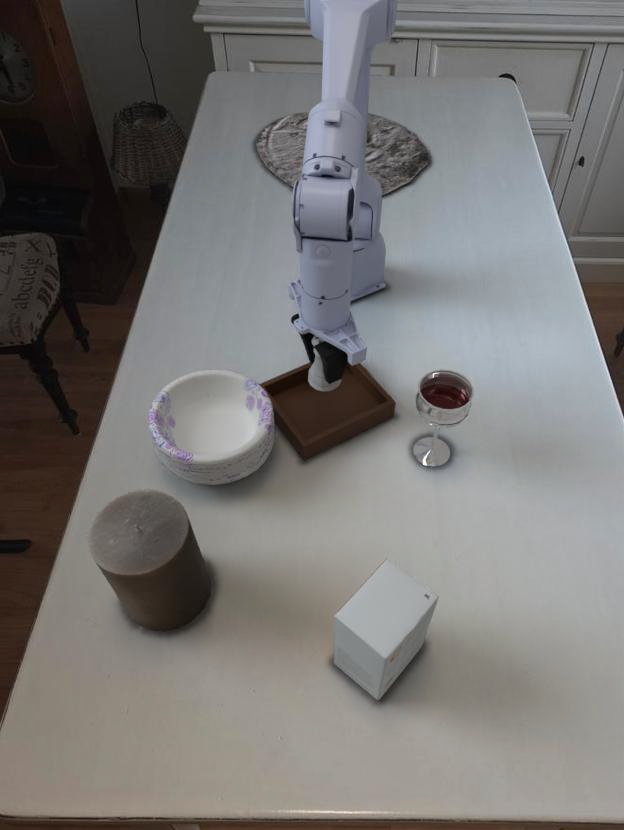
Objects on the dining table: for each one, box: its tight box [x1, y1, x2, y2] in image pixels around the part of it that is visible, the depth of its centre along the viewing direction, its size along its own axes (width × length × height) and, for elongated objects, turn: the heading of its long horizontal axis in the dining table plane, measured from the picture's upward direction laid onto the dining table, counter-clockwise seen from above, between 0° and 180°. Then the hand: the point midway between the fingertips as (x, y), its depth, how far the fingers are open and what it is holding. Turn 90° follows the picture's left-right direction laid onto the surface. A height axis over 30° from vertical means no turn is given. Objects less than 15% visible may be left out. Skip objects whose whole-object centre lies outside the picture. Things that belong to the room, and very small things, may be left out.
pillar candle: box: [85, 488, 212, 632], centre depth 65 cm, size 10×10×15 cm
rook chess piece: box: [308, 336, 341, 392], centre depth 80 cm, size 4×4×8 cm
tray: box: [258, 361, 397, 461], centre depth 87 cm, size 15×13×3 cm
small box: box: [333, 558, 440, 701], centre depth 63 cm, size 8×6×13 cm
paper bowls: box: [147, 368, 276, 486], centre depth 80 cm, size 15×15×8 cm
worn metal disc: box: [254, 111, 430, 196], centre depth 127 cm, size 33×35×1 cm
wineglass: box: [412, 369, 475, 467], centre depth 79 cm, size 7×7×12 cm
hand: (325, 370), depth 82 cm, fingers closed on rook chess piece, 3 cm apart
